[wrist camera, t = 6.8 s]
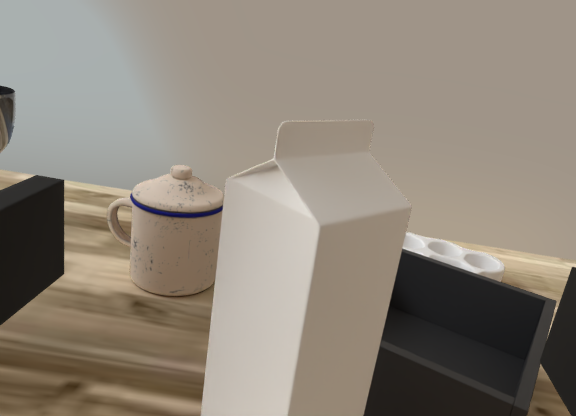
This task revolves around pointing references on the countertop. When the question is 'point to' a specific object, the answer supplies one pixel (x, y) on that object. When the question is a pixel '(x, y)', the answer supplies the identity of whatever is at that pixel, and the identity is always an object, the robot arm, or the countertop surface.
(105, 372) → the countertop surface
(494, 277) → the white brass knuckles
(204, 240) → the teacup with lid
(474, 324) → the tray
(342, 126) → the milk
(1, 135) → the wine glass
